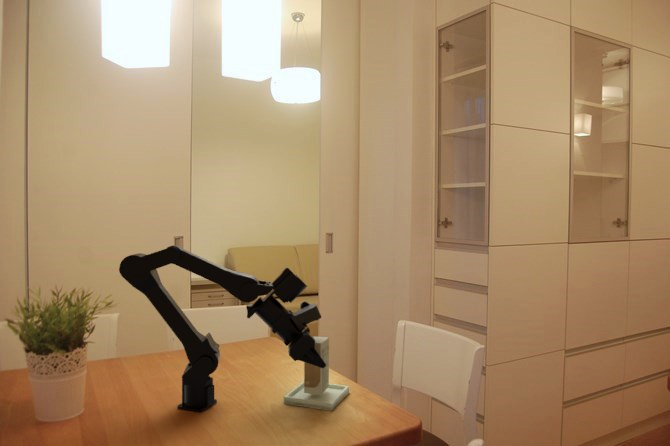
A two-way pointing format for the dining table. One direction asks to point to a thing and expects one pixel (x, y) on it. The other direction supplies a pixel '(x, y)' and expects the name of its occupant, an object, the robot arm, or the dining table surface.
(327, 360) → the skincare box
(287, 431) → the dining table surface
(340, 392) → the sage dish
